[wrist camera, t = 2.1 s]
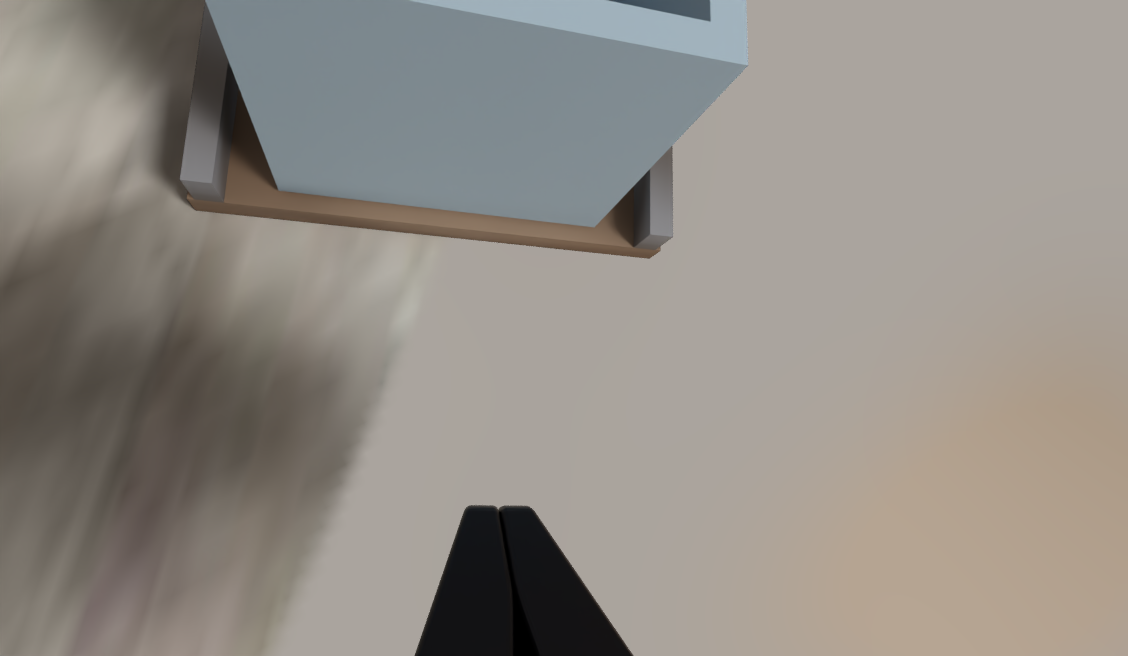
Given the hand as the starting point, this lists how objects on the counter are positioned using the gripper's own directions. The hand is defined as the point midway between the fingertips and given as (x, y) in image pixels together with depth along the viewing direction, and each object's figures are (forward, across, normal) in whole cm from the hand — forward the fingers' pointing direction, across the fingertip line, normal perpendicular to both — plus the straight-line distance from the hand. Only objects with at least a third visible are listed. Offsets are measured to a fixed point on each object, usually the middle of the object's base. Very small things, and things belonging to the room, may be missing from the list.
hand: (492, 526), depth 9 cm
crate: (+17, 0, 0) cm, 17 cm away
